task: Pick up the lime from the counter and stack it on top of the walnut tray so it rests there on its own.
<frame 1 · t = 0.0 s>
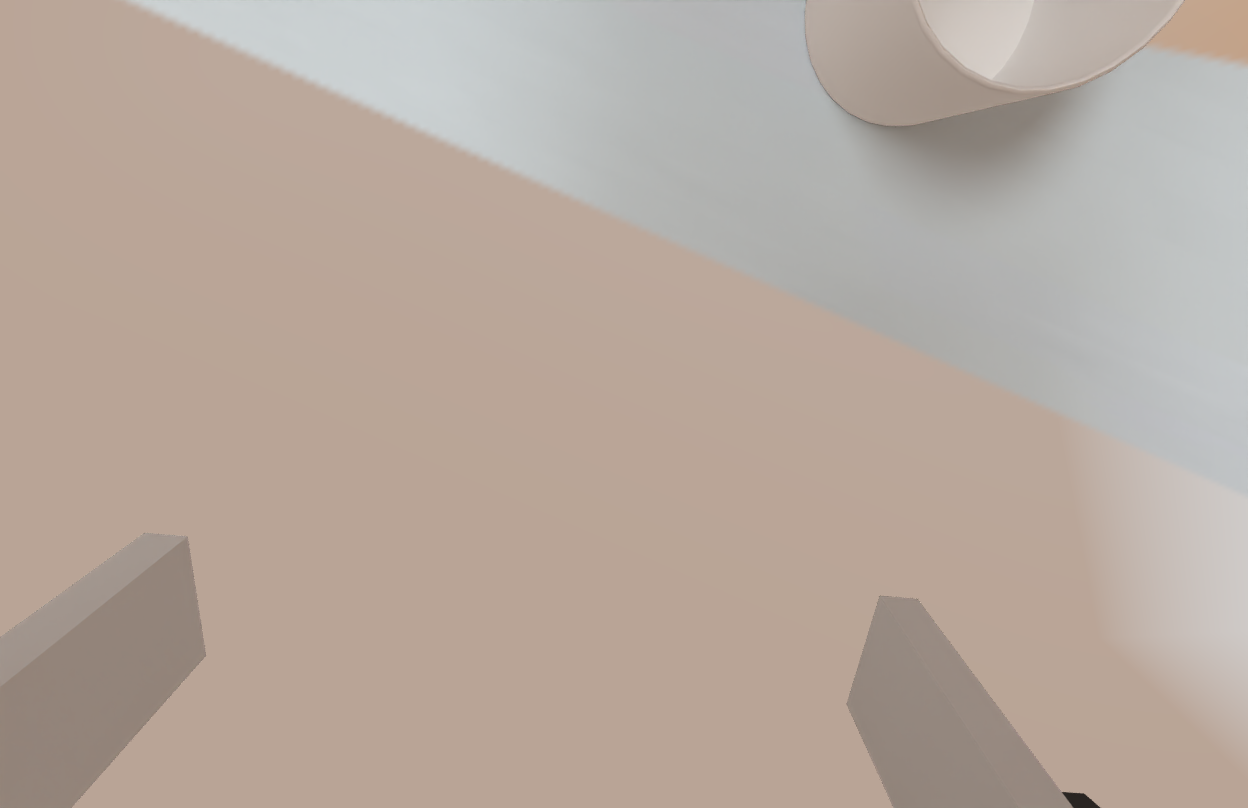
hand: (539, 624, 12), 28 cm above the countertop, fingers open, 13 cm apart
cup: (908, 10, 33), on the countertop
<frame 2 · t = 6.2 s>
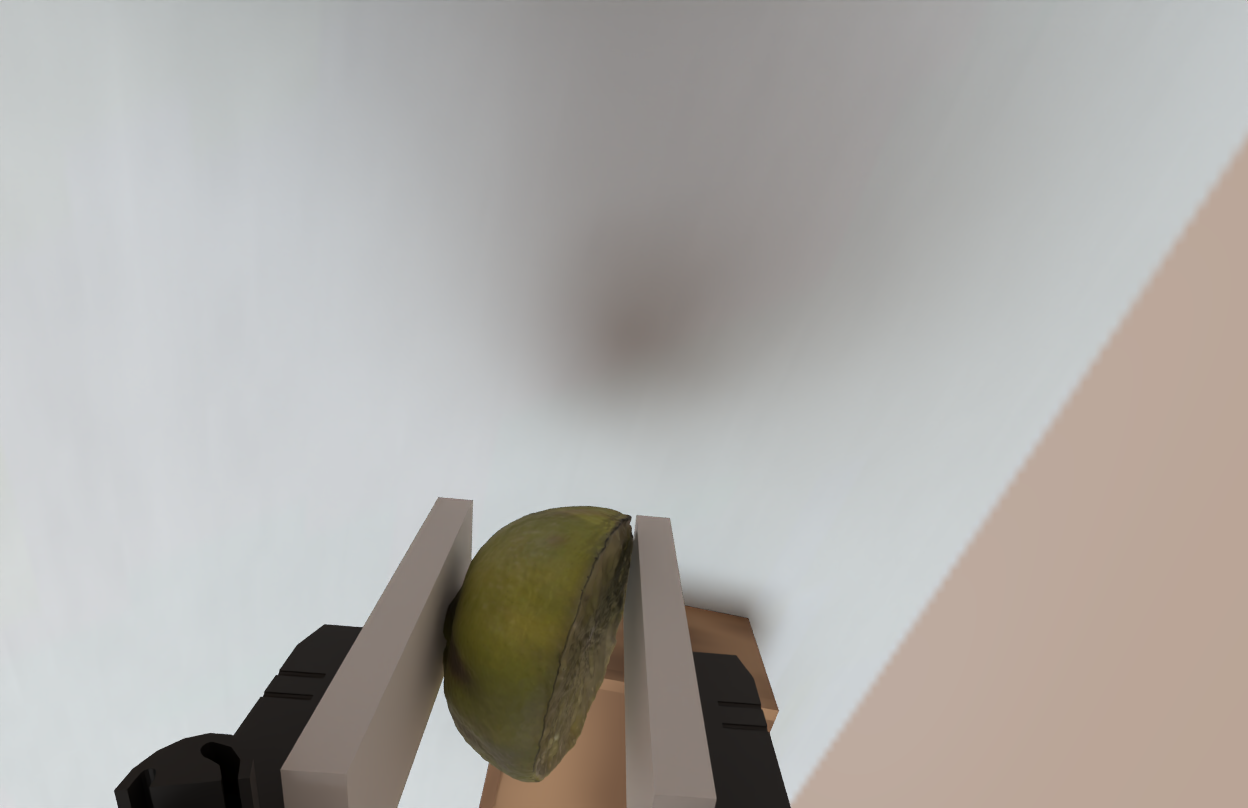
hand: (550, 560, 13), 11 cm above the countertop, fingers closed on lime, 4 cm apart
lime: (565, 559, 14), point 10 cm above the countertop, touching gripper
walnut tray: (615, 679, 28), on the countertop
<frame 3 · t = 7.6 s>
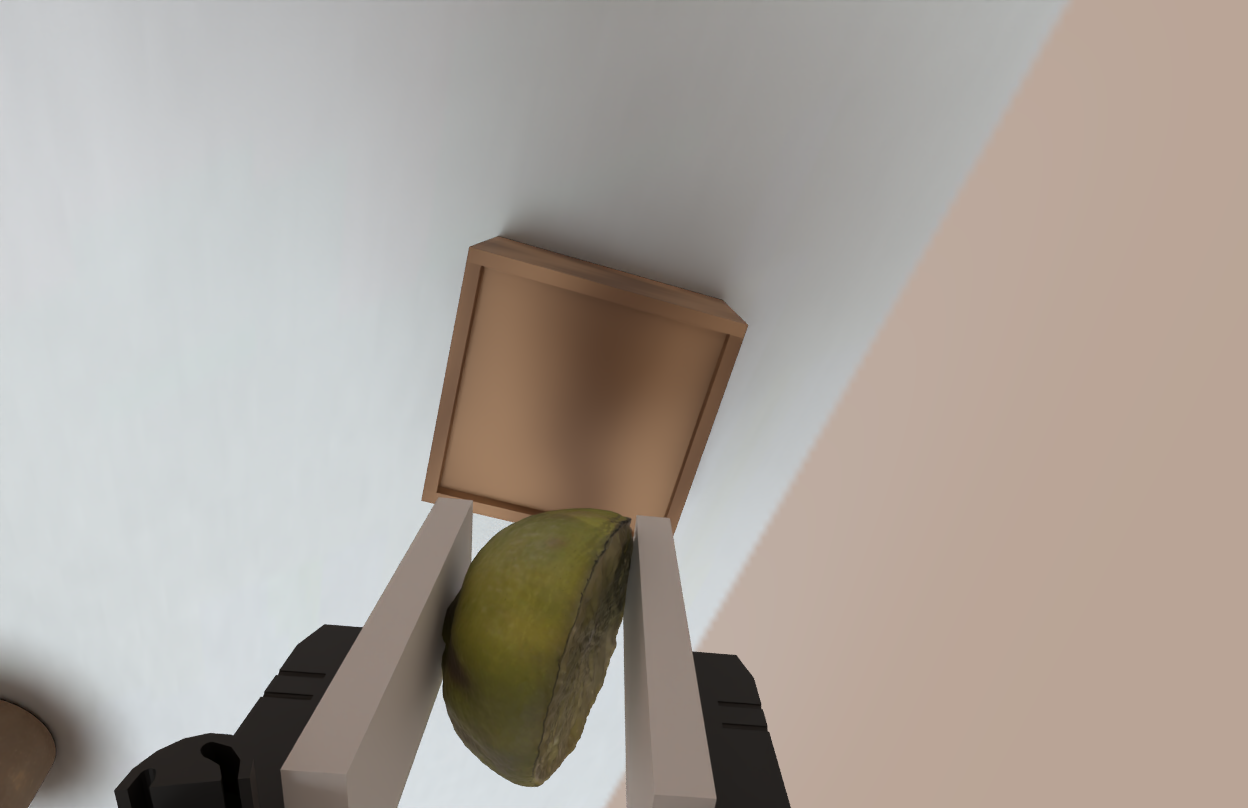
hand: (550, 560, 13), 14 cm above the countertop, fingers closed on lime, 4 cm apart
lime: (565, 561, 14), point 14 cm above the countertop, touching gripper
flower pot: (6, 735, 34), on the countertop
walnut tray: (583, 374, 27), on the countertop
when the fingers open (6 cm above the countertop, at t = 9.3 s): lime stays where it is, resting on walnut tray.
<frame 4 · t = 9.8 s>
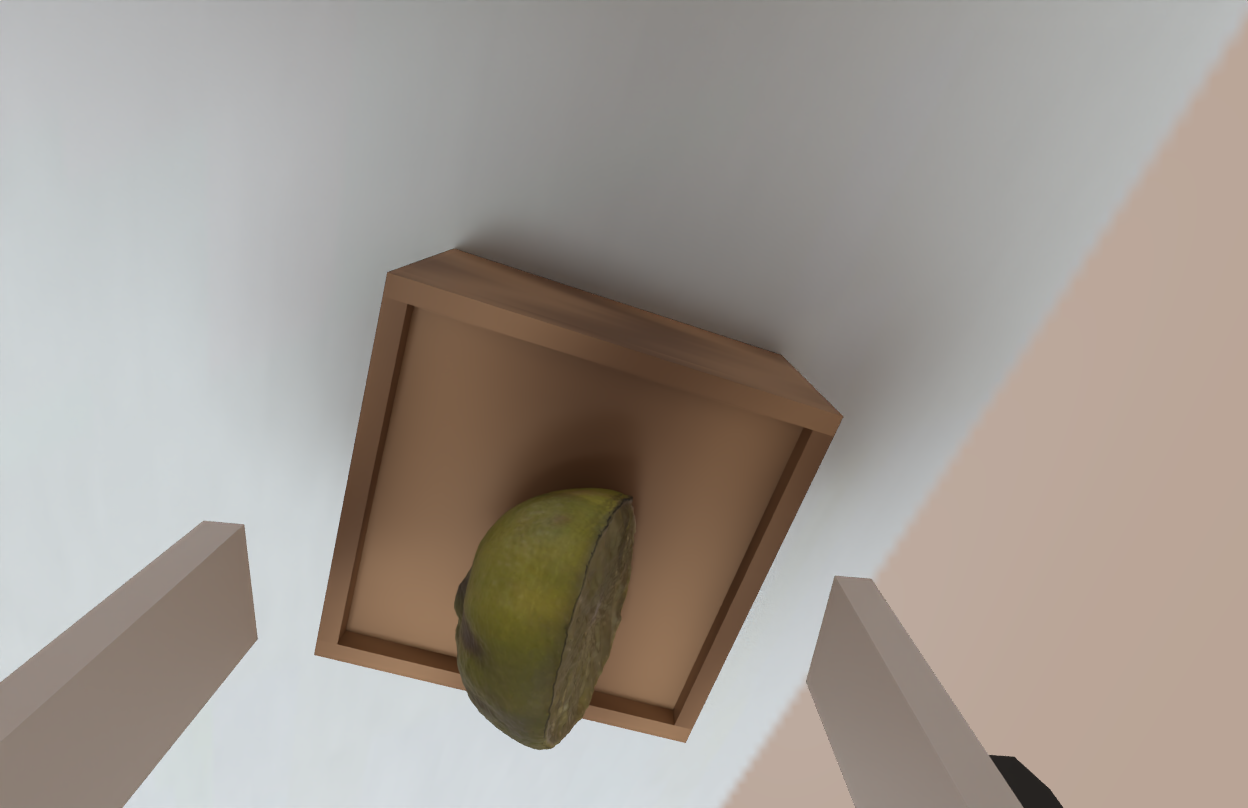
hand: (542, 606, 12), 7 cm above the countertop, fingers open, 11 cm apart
lime: (571, 541, 15), point 4 cm above the countertop, touching walnut tray
walnut tray: (574, 448, 19), on the countertop, touching lime
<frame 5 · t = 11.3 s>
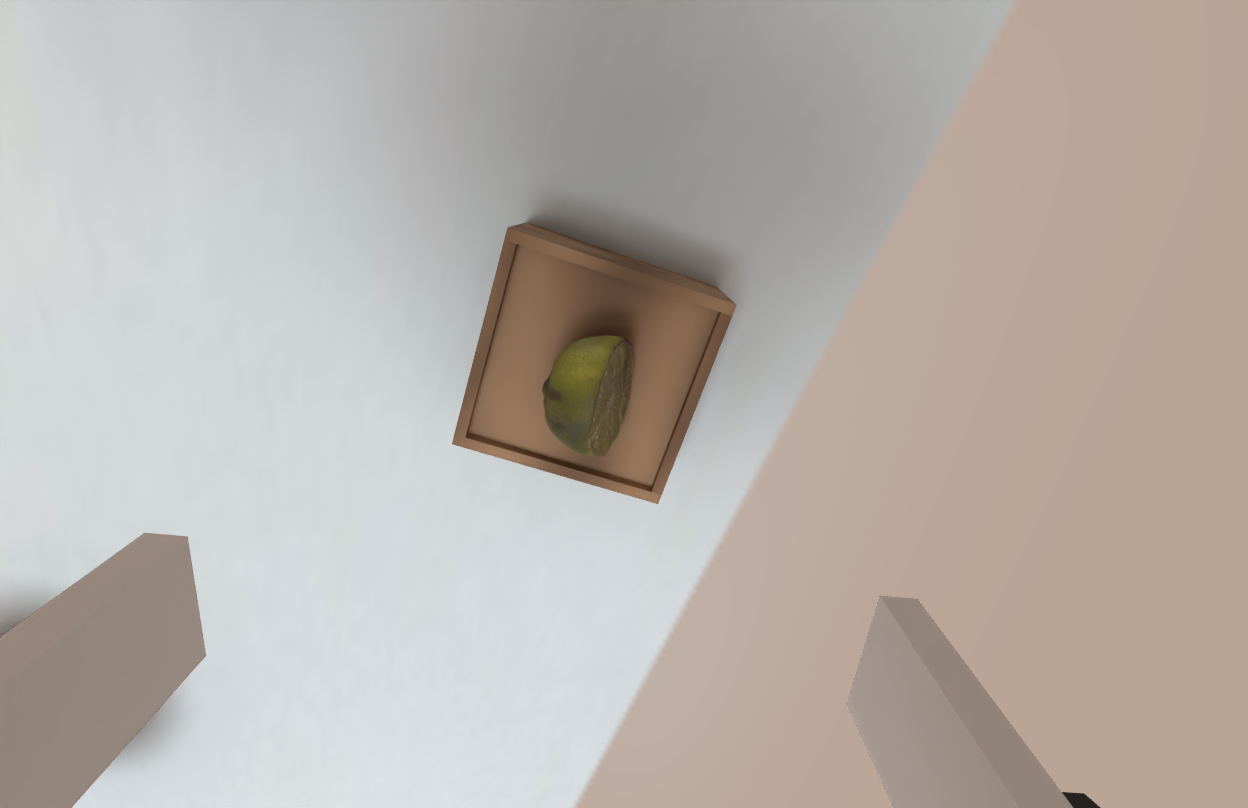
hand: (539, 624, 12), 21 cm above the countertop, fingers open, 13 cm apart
lime: (597, 378, 27), point 4 cm above the countertop, touching walnut tray
walnut tray: (593, 347, 31), on the countertop, touching lime
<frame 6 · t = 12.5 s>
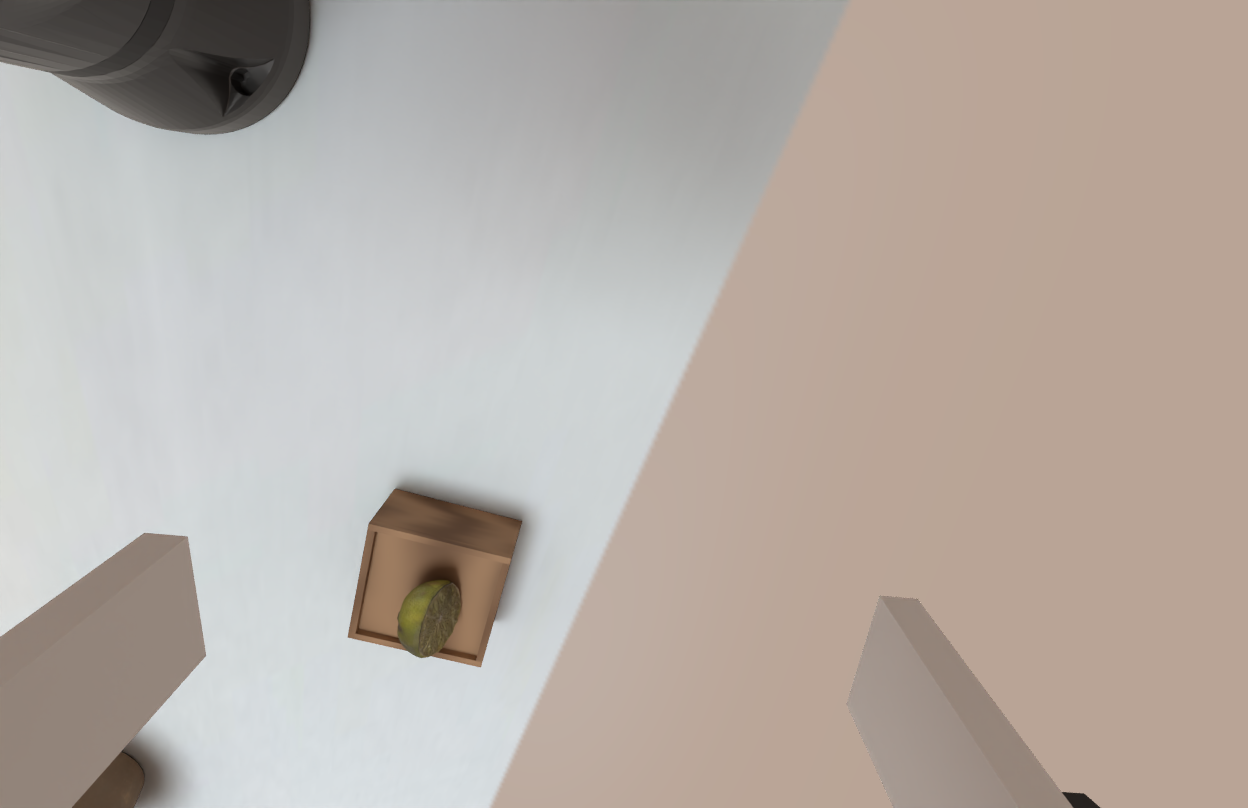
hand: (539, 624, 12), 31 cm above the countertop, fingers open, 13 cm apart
lime: (440, 594, 43), point 4 cm above the countertop
flower pot: (113, 770, 55), on the countertop
walnut tray: (447, 555, 48), on the countertop
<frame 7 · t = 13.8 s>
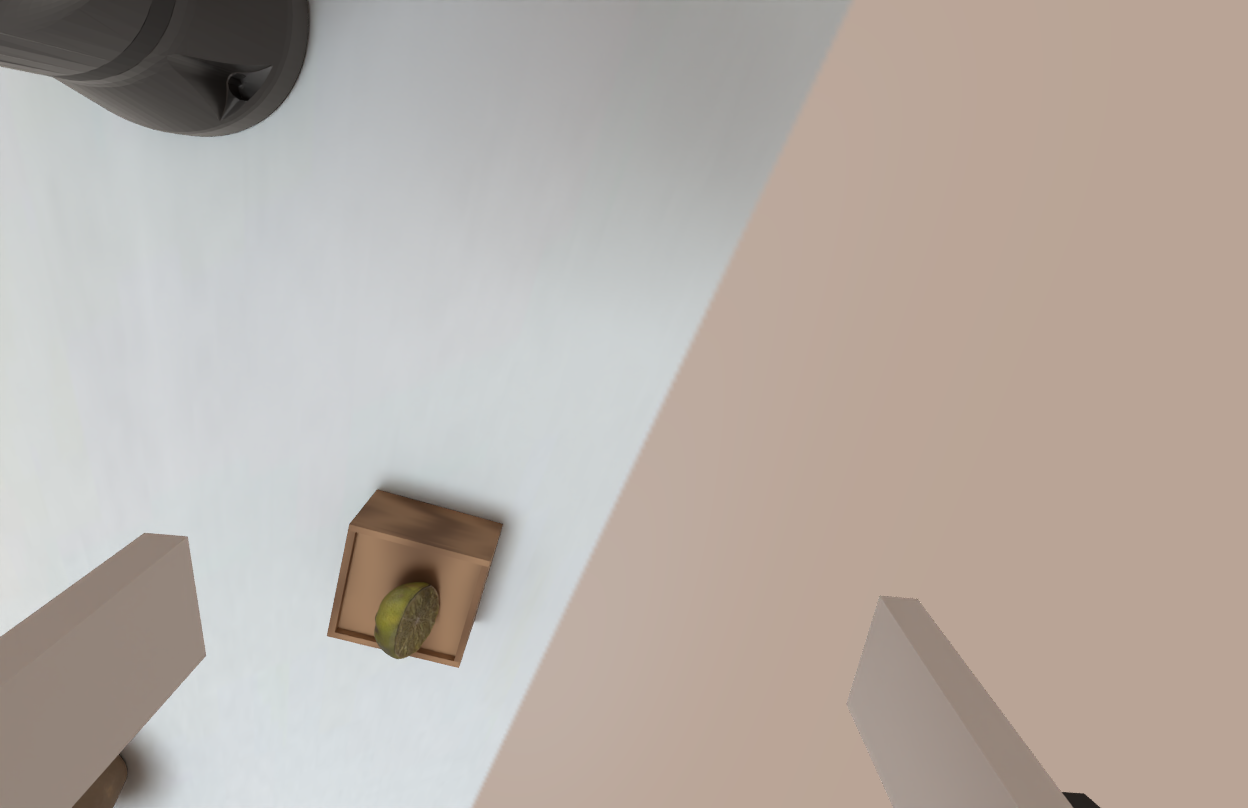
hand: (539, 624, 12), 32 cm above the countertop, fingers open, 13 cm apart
lime: (419, 595, 44), point 4 cm above the countertop, touching walnut tray
flower pot: (97, 763, 55), on the countertop
walnut tray: (429, 556, 48), on the countertop, touching lime
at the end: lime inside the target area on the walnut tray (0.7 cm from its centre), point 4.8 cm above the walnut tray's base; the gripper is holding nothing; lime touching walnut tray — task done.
